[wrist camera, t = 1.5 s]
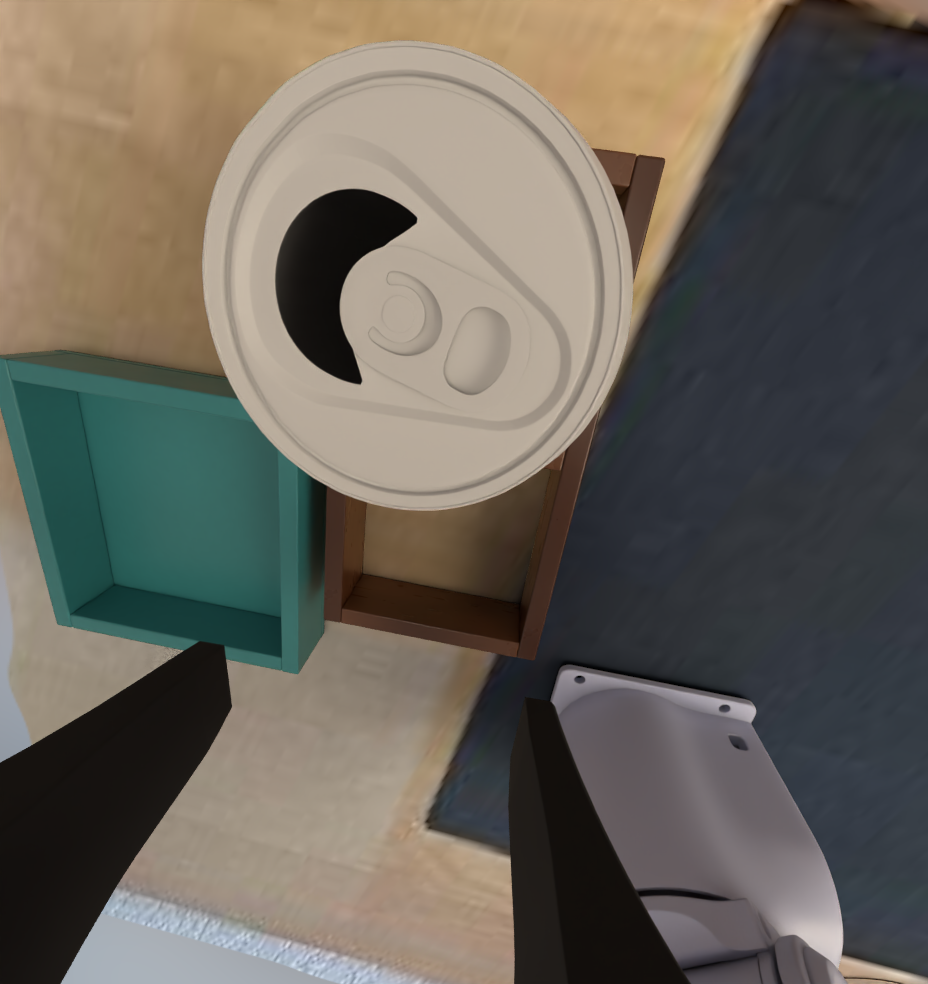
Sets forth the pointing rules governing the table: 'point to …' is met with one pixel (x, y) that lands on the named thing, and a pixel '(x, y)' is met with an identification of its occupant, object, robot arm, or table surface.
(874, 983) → the panda figurine
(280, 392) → the beverage can
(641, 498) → the table surface
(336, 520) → the brown divided tray
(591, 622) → the table surface
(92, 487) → the teal square tray
